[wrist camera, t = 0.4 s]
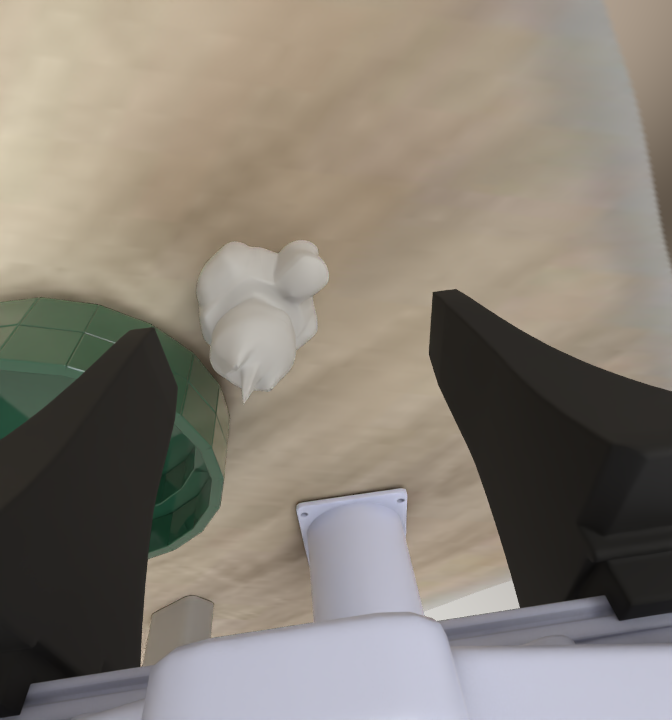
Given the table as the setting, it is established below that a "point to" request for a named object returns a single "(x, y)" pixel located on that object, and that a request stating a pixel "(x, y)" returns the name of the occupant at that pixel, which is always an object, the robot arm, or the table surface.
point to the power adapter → (178, 627)
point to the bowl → (74, 356)
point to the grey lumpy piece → (259, 310)
